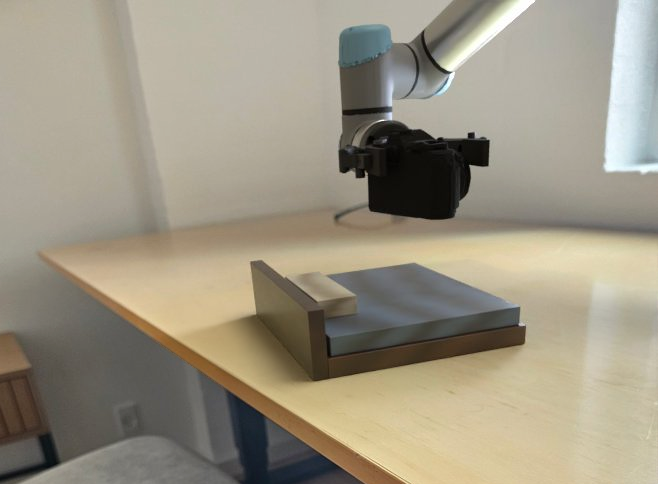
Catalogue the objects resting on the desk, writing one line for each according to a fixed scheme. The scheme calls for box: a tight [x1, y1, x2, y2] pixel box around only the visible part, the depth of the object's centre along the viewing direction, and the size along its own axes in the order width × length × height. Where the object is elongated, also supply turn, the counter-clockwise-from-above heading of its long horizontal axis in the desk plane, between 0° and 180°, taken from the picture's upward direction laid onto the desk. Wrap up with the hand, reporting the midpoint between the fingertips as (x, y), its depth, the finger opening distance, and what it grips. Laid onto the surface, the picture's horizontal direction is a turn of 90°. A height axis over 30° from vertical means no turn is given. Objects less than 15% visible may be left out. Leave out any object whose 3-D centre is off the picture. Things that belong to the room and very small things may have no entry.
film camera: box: [367, 128, 472, 221], centre depth 76 cm, size 15×10×9 cm, turn 30°
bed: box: [249, 259, 527, 382], centre depth 78 cm, size 24×28×7 cm
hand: (434, 158), depth 72 cm, fingers closed on film camera, 11 cm apart
